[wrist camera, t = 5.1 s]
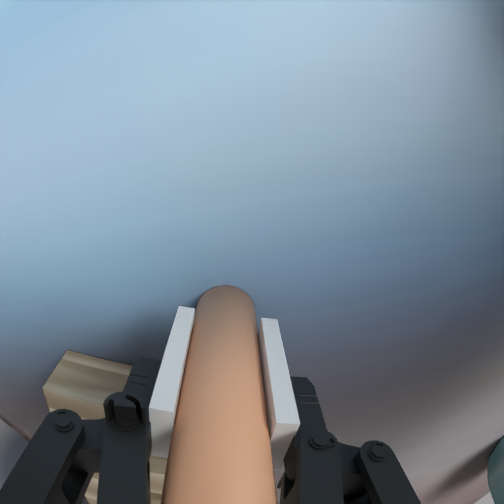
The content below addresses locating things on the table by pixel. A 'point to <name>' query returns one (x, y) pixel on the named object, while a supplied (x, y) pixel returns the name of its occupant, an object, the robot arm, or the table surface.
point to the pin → (221, 410)
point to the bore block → (94, 402)
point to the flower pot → (497, 473)
